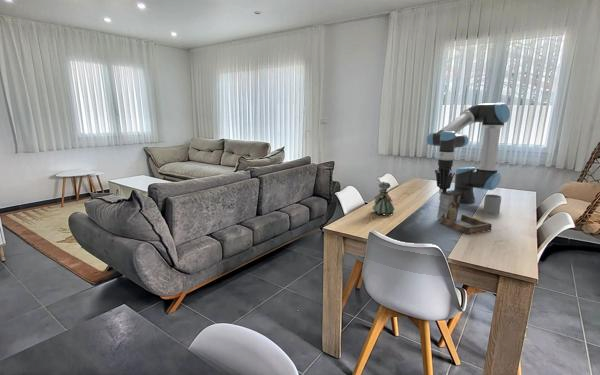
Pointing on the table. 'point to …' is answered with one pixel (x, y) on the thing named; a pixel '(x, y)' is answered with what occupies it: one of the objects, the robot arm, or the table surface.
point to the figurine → (383, 200)
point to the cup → (492, 204)
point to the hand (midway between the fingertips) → (442, 199)
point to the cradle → (466, 224)
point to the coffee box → (449, 205)
